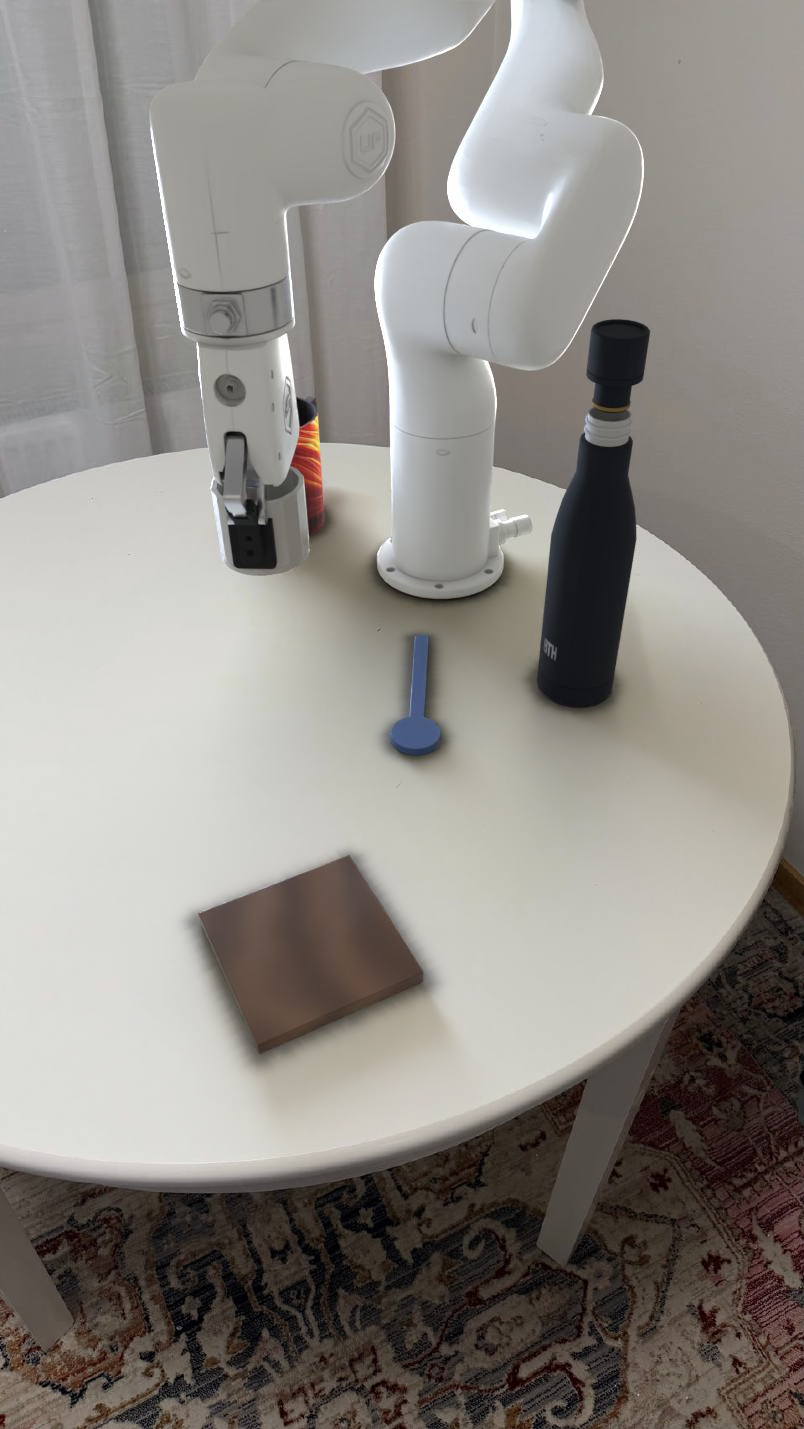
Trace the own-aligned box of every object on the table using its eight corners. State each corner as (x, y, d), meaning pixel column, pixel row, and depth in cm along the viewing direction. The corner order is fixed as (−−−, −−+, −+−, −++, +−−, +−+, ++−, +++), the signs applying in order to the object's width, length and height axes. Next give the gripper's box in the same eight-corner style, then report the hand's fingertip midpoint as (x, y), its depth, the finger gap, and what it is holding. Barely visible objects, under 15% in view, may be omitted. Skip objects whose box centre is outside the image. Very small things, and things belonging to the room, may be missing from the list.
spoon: (399, 639, 91) (399, 633, 91) (443, 640, 91) (444, 634, 90) (389, 754, 79) (389, 748, 79) (440, 756, 79) (440, 749, 79)
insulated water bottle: (621, 672, 87) (680, 319, 68) (600, 716, 83) (656, 352, 63) (550, 654, 89) (588, 307, 70) (526, 695, 85) (559, 337, 65)
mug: (321, 479, 115) (315, 376, 107) (326, 541, 104) (319, 432, 97) (236, 484, 114) (223, 381, 107) (233, 546, 104) (218, 437, 96)
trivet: (350, 863, 71) (349, 854, 70) (423, 981, 63) (423, 971, 62) (199, 921, 67) (197, 912, 66) (259, 1054, 59) (257, 1045, 59)
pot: (290, 522, 82) (283, 453, 78) (323, 561, 77) (317, 491, 73) (210, 543, 79) (199, 473, 76) (239, 584, 75) (228, 513, 71)
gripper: (271, 354, 59) (297, 605, 71) (309, 262, 72) (325, 487, 84) (146, 353, 60) (191, 602, 71) (207, 262, 73) (237, 485, 84)
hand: (264, 538), depth 77 cm, fingers closed on pot, 7 cm apart
